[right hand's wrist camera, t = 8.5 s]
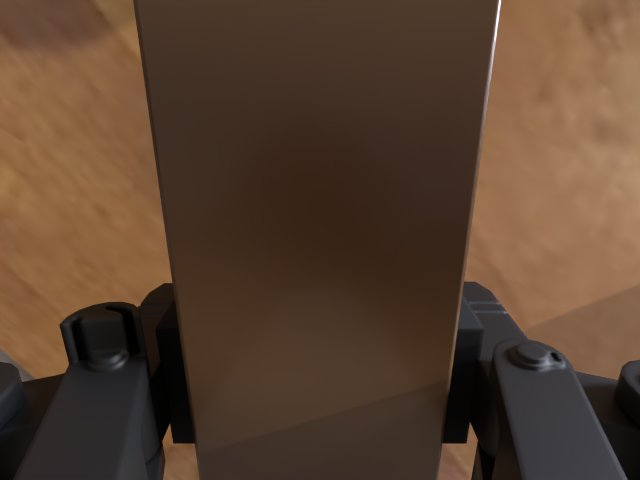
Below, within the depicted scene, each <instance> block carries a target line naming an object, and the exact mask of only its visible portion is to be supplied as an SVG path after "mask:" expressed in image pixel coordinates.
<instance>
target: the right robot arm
mask: <svg viewBox="0 0 640 480" xmlns="http://www.w3.org/2000/svg"><path fill="white" fill-rule="evenodd" d="M60 329H61V333H62V337H63V341H64V345H65V349H66V353H67V357H68V361H69V366H68V368H67V370H66V372H65V373H64V374H60V375H56V376H51V377H46V378H41V379H36V380H31V381H25V382H22V380H21V377H20V374H19V371H18V369H17V368H16V367H15V366H14V365H12V364H10V363H3V362H0V480H163V475H164V466H165V455H164V449H163V443H162V440H163V438H164V436H165V433H166V431H167V429H168V426H169V424H170V426H171V432H172V438H173V443H195V441H194V434H193V427H192V420H191V412H190V405H189V398H188V391H187V384H186V376H185V369H184V362H183V355H182V348H181V340H180V333H179V326H178V319H177V312H176V304H175V297H174V290H173V283H164V284H162V285H161V286H159V287H158V288H156V289H154V290H153V291H151V292H150V293H149V294H148V295H147V296H146V298H145V299H144V300H143V301H142V303H141V306H139V307H138V308H137V307H136V306H135V305H133V304H129V303H125V302H107V303H101V304H96V305H92V306H89V307H86V308H84V309H81V310H78V311H77V312H75V313H73V314H71V315H70V316H68V317H67V318H66V319H65V320H64V321H63V322H62V323H61V324H60ZM470 423H471V425H472V427H473V430H474V432H475V434H476V437H477V439H478V443H477V449H476V454H475V460H474V466H473V472H472V478H471V480H640V360H636V361H630V362H628V363H626V364H625V365H624V366H623V367H622V369H621V373H620V376H619V379H618V380H614V379H609V378H604V377H599V376H594V375H589V374H584V373H580V372H576V371H574V369H573V367H572V365H571V363H570V362H569V361H568V360H567V359H566V357H565V356H564V355H563V354H561V353H560V352H558V351H557V350H555V349H554V348H552V347H550V346H548V345H545V344H543V343H540V342H538V341H533V340H528V339H527V337H526V336H525V335H524V334H523V332H522V331H521V330H520V328H519V327H518V326H517V325H516V323H515V322H514V321H513V319H512V318H511V317H510V316H509V314H506V310H505V309H504V308H503V306H502V305H501V304H499V301H498V300H497V299H496V297H495V296H494V295H493V294H492V292H491V291H490V290H488V289H486V288H485V287H483V286H481V285H480V284H478V283H477V282H464V284H463V292H462V299H461V306H460V314H459V321H458V329H457V336H456V344H455V351H454V359H453V366H452V374H451V381H450V389H449V396H448V404H447V411H446V419H445V426H444V434H443V441H442V443H467V436H468V430H469V424H470Z"/></svg>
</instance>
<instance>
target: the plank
mask: <svg viewBox="0 0 640 480" xmlns="http://www.w3.org/2000/svg"><path fill="white" fill-rule="evenodd" d="M133 2H134V9H135V17H136V24H137V31H138V38H139V45H140V53H141V60H142V67H143V74H144V81H145V89H146V96H147V103H148V110H149V117H150V125H151V132H152V139H153V146H154V153H155V160H156V168H157V175H158V182H159V189H160V196H161V204H162V211H163V218H164V225H165V232H166V240H167V247H168V254H169V261H170V268H171V276H172V283H173V290H174V297H175V304H176V312H177V319H178V326H179V333H180V340H181V348H182V355H183V362H184V369H185V376H186V384H187V391H188V398H189V405H190V412H191V420H192V427H193V434H194V441H195V448H196V455H197V463H198V470H199V477H200V480H437V479H438V471H439V464H440V456H441V449H442V441H443V434H444V426H445V419H446V411H447V404H448V396H449V389H450V381H451V374H452V366H453V359H454V351H455V344H456V336H457V329H458V321H459V314H460V306H461V299H462V292H463V284H464V277H465V269H466V262H467V254H468V247H469V239H470V232H471V224H472V217H473V209H474V202H475V194H476V187H477V179H478V172H479V164H480V157H481V149H482V142H483V134H484V127H485V119H486V112H487V104H488V97H489V90H490V82H491V75H492V67H493V60H494V52H495V45H496V37H497V30H498V22H499V15H500V7H501V0H133Z"/></svg>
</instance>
